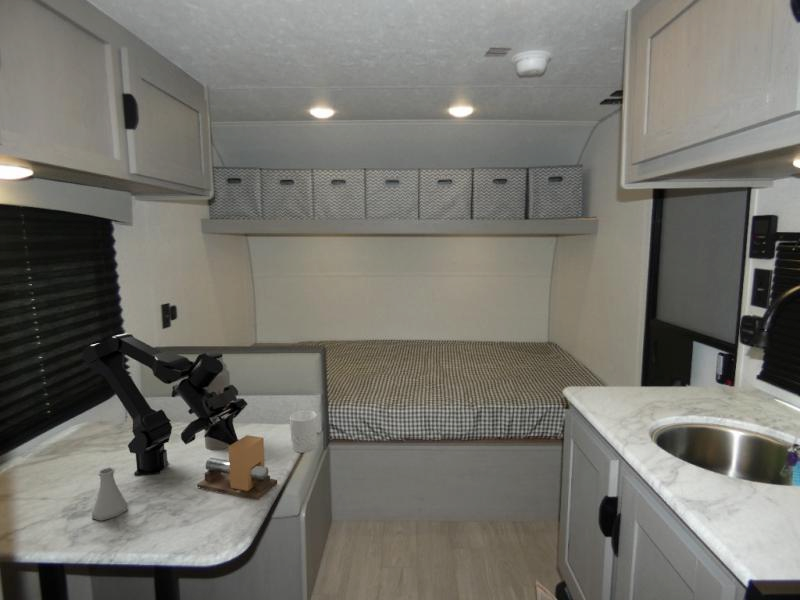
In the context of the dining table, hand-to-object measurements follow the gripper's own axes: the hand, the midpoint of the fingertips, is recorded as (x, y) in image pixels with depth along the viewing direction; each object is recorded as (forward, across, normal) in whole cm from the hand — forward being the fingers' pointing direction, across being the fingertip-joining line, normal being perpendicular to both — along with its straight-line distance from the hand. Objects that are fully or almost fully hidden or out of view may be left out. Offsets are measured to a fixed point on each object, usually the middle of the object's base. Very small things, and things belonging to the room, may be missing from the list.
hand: (237, 445), depth 115 cm
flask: (-7, -18, +23) cm, 30 cm away
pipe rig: (+7, 0, +8) cm, 11 cm away
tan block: (+9, 0, +5) cm, 10 cm away
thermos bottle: (-8, +19, +23) cm, 31 cm away
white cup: (+11, +24, +5) cm, 27 cm away
